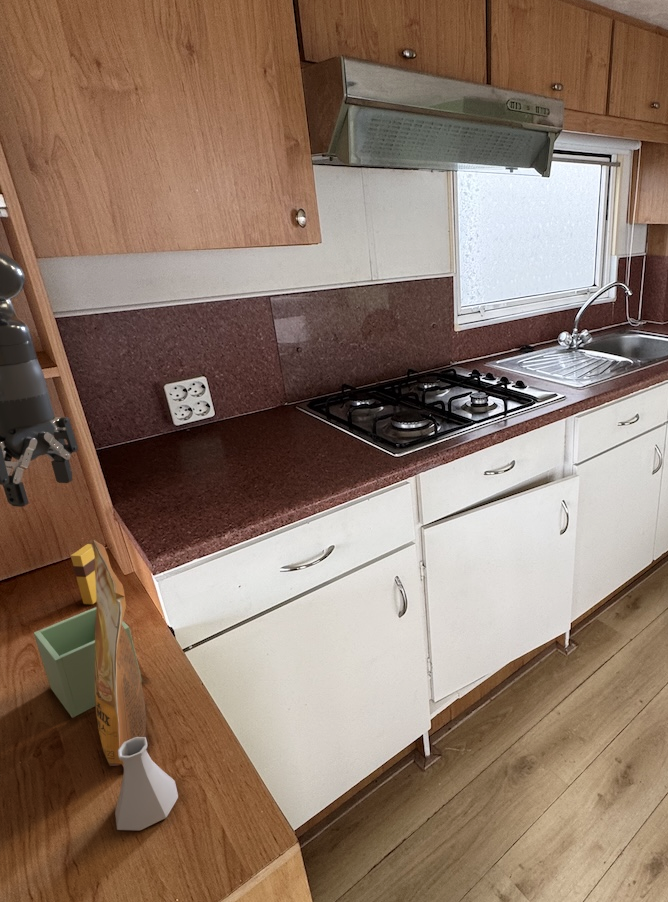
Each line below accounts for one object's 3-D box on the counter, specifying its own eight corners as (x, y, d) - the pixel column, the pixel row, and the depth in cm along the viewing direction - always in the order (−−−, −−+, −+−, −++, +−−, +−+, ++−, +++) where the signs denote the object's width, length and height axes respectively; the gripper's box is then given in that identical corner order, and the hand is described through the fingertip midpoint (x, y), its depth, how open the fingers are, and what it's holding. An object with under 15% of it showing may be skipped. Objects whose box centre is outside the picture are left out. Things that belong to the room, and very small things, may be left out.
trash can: (72, 718, 88) (55, 660, 84) (50, 687, 94) (33, 632, 90) (142, 681, 95) (129, 627, 92) (118, 655, 101) (105, 603, 97)
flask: (183, 775, 79) (171, 718, 76) (173, 823, 72) (158, 763, 69) (123, 789, 77) (107, 731, 73) (106, 840, 70) (88, 779, 67)
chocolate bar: (82, 604, 114) (69, 555, 111) (99, 590, 119) (87, 543, 115) (93, 604, 114) (80, 556, 111) (109, 591, 119) (97, 544, 115)
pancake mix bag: (150, 680, 95) (115, 529, 86) (163, 763, 81) (123, 592, 71) (101, 697, 92) (60, 541, 82) (105, 787, 77) (55, 610, 68)
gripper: (31, 379, 91) (56, 474, 96) (-57, 404, 77) (-22, 513, 83) (76, 381, 90) (99, 476, 96) (-4, 406, 77) (28, 515, 82)
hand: (43, 493), depth 89 cm, fingers open, 8 cm apart
